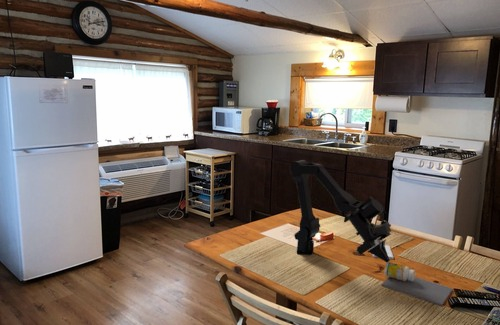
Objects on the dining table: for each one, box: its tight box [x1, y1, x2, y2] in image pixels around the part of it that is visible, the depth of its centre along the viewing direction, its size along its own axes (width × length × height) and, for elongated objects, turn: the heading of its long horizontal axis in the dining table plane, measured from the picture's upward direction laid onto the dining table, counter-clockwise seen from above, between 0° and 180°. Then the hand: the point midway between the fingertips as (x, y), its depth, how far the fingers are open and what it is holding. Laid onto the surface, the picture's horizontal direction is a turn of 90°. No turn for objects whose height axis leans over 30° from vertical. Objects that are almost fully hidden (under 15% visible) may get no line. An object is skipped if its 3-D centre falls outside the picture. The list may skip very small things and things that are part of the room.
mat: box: [380, 276, 453, 307], centre depth 137 cm, size 20×14×1 cm
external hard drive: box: [372, 244, 395, 260], centre depth 167 cm, size 2×8×12 cm
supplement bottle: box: [384, 261, 416, 281], centre depth 141 cm, size 5×5×10 cm
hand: (388, 261), depth 142 cm, fingers closed
